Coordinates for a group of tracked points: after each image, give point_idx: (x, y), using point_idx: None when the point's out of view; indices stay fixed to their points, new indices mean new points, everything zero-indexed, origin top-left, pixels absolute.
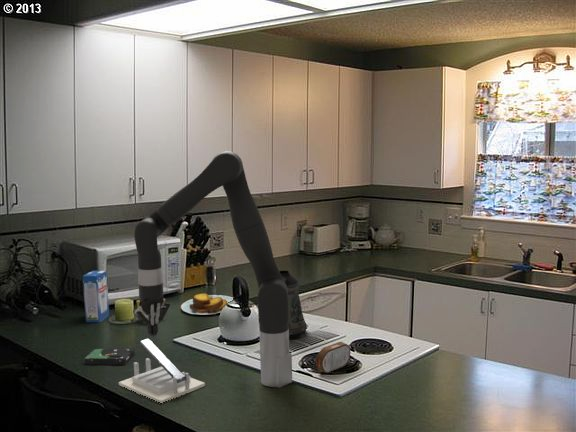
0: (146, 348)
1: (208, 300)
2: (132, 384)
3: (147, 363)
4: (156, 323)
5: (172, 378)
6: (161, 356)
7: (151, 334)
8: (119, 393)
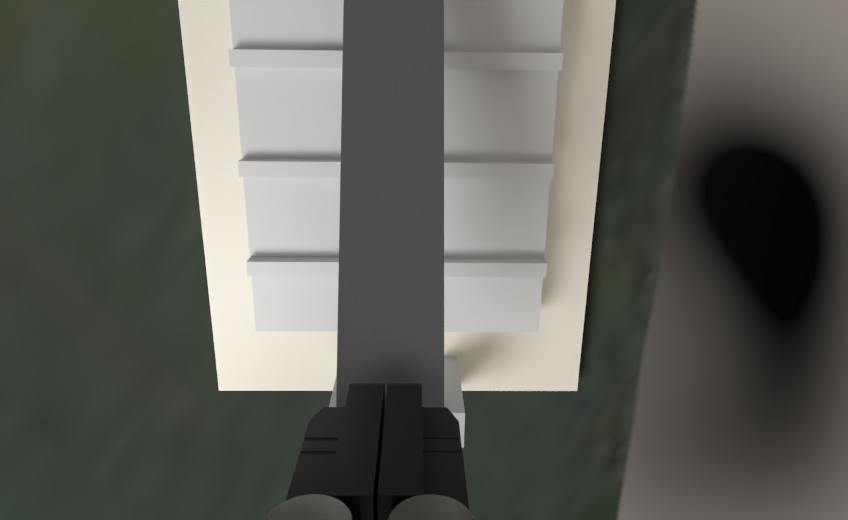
0: (443, 393)
1: None
2: (549, 292)
3: None
4: (330, 500)
5: None
6: (381, 198)
7: (439, 410)
8: (657, 272)
